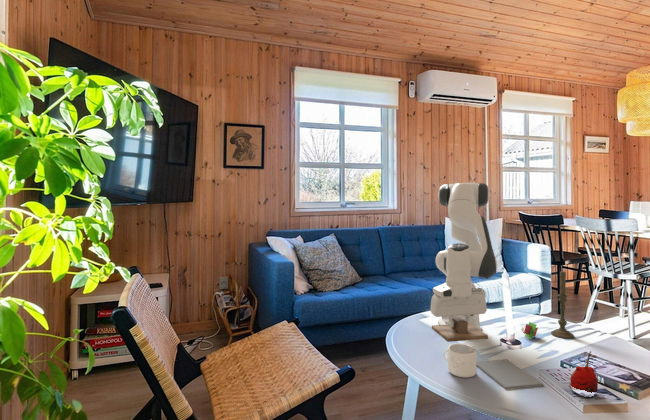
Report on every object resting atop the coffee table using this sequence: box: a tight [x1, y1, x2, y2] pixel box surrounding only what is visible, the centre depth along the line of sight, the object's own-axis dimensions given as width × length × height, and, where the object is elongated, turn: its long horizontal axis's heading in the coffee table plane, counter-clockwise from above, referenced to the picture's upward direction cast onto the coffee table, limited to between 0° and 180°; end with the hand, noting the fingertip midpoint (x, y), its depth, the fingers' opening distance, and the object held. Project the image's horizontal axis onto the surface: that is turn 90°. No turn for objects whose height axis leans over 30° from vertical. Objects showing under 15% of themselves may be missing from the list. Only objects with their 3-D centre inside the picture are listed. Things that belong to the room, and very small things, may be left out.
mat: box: [476, 358, 545, 390], centre depth 137 cm, size 20×14×1 cm
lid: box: [431, 316, 489, 343], centre depth 139 cm, size 13×15×5 cm
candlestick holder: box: [550, 270, 575, 340], centre depth 175 cm, size 9×9×30 cm
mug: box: [443, 343, 477, 379], centre depth 139 cm, size 12×10×9 cm
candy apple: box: [569, 351, 599, 393], centre depth 123 cm, size 8×7×15 cm
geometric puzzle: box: [520, 321, 540, 340], centre depth 173 cm, size 7×7×8 cm
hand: (458, 326), depth 139 cm, fingers closed on lid, 3 cm apart
